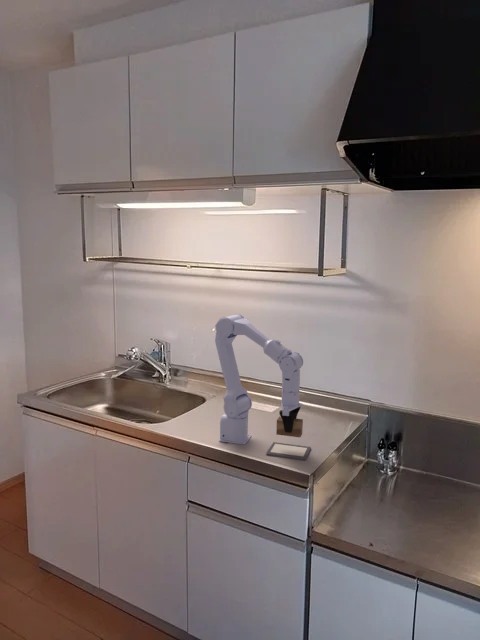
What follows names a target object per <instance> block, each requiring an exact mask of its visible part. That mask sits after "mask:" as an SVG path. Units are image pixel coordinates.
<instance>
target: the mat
mask: <svg viewBox="0 0 480 640" xmlns="http://www.w3.org/2000/svg"><path fill="white" fill-rule="evenodd" d="M311 449H312V446H307V445H306V446H305V445H298V444H291V443H283V442H278V441H277V442H275V441H273V442H272V444H271V446H269V449H268V450H267V452H266V453H265V455H266V456H271V457H277V458H283V459H291V460H299V461H307V459H308V456H309V454H310V451H311Z"/></svg>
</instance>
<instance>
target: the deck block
mask: <svg viewBox="0 0 480 640" xmlns="http://www.w3.org/2000/svg"><path fill="white" fill-rule="evenodd" d="M303 422H304V419H303V418H295V419H294V423H293V429H292V432H291V433H288V432H285V430H284V425H283V421H282V418H281V416H278V418H277V419H276V435H277V436H285V437H286V436H287V437H293V438H302V435H303V431H304V430H303Z"/></svg>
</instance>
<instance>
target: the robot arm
mask: <svg viewBox="0 0 480 640" xmlns="http://www.w3.org/2000/svg"><path fill="white" fill-rule="evenodd" d="M214 326H215V338H214V339H215V340H214V341H215V347H216V351H217V355H218V358H219V364H220V368H221V372H222V373H221V374H222V376H223V381H224V385H225V389H226V391H225V394H224V396H223V411H224V413H223V414H222V415H221V416H220V422H219V440H218V441H219V442H222V443H231V444H236V445H237V444H238V445H246V444H247V443H248V442H249V440H250V439H251V438H252V435H251V434H249V433H248V432H249V411H250V409H251V408H252V406H253V401H252V399H251V397H250V396H249V394H248V391H247V389H246V388H244V387H243V386H242V381H241V377H240V373H239V369H238V365H237V364H238V363H237V360H236V355H235V352H234V347H233V341H234V340H235V339H236V337H237V336H245V337H247V338H248V339H250V340H251V341H253V342H254V343H255V344H257V345H259V346H260V347H261V348H262V349H263V353H264V354H265V355H266V356H267V357H269V358H270V359H271V360H273V361H274V362H275V363H277V364H278V367H279V369H280V371H281V376H282V377H281V402H280V407H281V408H282V409H281V410H279V417H281V418H282V421H283V425H284V430H285V432H288V433H291V432H292V429H293V423H294V419H295V418H296V419H298V418H297V417H298V413H299V411H300V410H301V408H303V405H304V404H303V403H300V390H301V389H300V386H301V385H300V384H301V381H300V380H301V368H302V367H303V365H304V359H303V357H302V355H301V354H300V353H299V352H297V351H292V350H291V349H290V348H289V349H288V348H287V347H286V346H284V345H283V344H281V341H280V340H279V339H274V338H272V339H269V337H267V336H266V335H265V334H263V333H262V332H261V331H260V329H258V328H257V327H256V326H255V325H253V324H252V323H251V322H250V321H249V319H248V318H246V317H244V316H243V315H242V314H241V313H240V314H239V313H236V314H233V315H228V316H222V317H220V318H219V319H218V321H217V322H216V323H215V325H214Z"/></svg>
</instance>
